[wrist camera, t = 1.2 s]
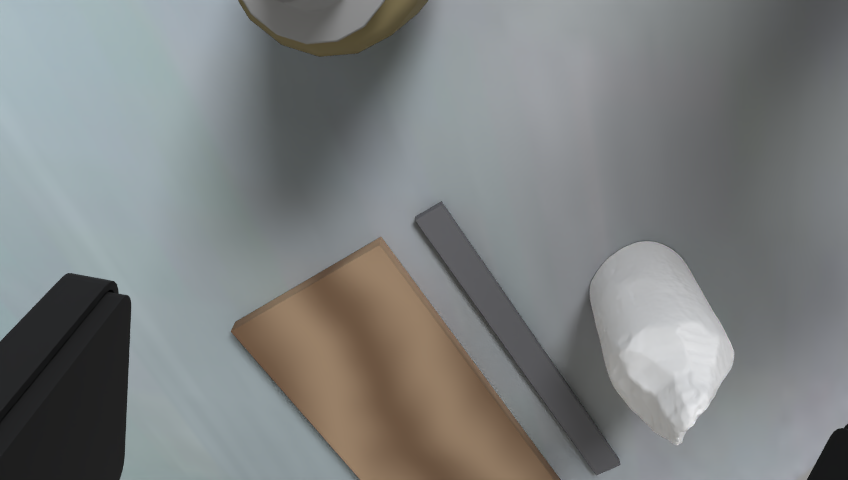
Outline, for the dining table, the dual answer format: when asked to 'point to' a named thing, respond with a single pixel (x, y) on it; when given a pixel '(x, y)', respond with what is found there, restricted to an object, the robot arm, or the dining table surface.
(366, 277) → the board
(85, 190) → the dining table surface
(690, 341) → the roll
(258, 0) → the squeeze bottle
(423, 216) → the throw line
